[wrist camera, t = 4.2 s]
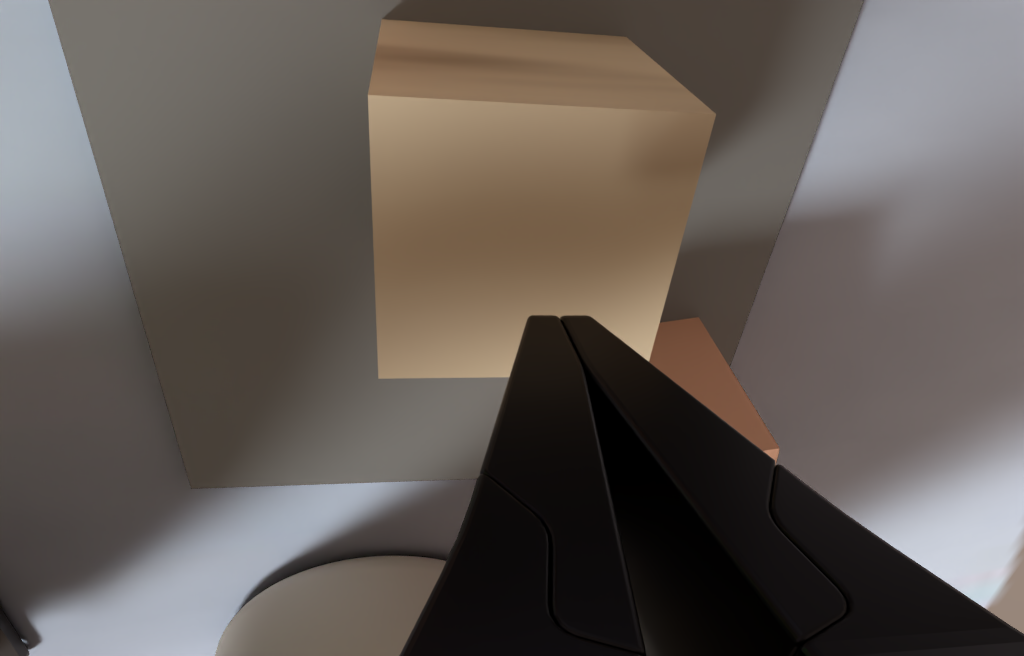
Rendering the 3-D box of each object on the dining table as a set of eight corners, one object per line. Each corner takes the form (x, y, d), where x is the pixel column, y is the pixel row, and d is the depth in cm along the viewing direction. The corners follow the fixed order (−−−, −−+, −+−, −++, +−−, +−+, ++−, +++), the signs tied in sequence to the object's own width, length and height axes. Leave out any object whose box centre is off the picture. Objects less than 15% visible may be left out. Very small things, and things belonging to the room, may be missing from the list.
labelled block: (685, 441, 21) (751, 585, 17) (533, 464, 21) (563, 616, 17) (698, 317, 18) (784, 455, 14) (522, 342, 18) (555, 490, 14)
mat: (687, 462, 22) (691, 471, 22) (194, 478, 20) (191, 488, 20) (1050, -556, 10) (1072, -569, 9) (-183, -853, 7) (-211, -885, 7)
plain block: (588, 248, 16) (644, 376, 12) (387, 244, 16) (378, 378, 12) (626, 36, 14) (715, 114, 10) (381, 19, 13) (368, 94, 9)
